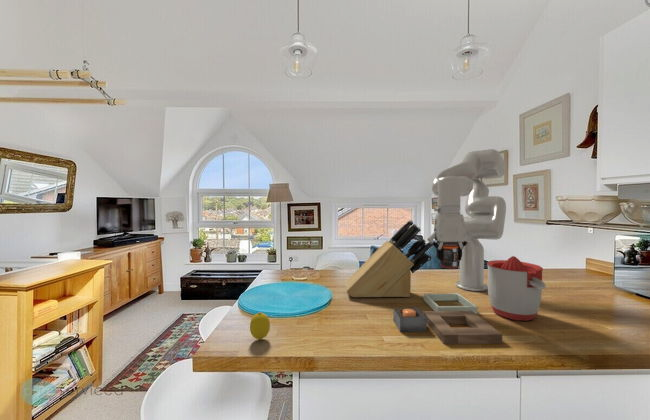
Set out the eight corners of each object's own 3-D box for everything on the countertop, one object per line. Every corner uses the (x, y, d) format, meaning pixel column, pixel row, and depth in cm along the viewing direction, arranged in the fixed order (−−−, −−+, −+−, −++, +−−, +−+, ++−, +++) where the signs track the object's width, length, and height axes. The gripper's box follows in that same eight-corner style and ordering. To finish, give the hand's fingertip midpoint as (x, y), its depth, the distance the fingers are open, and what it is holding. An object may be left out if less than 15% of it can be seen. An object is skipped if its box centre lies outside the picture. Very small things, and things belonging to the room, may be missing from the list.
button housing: (393, 320, 89) (393, 308, 89) (417, 319, 89) (417, 307, 89) (399, 331, 81) (399, 318, 81) (426, 331, 81) (426, 318, 81)
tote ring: (423, 299, 107) (423, 293, 107) (458, 299, 107) (458, 293, 107) (437, 314, 94) (437, 307, 93) (477, 314, 93) (477, 306, 93)
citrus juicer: (522, 330, 82) (523, 264, 81) (476, 308, 98) (476, 253, 98) (560, 323, 86) (561, 260, 85) (509, 303, 103) (510, 250, 102)
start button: (401, 321, 87) (401, 308, 87) (413, 321, 87) (413, 308, 87) (404, 326, 83) (404, 314, 83) (417, 326, 83) (417, 314, 83)
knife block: (434, 298, 109) (434, 221, 108) (346, 298, 110) (345, 222, 109) (424, 288, 120) (424, 219, 119) (344, 289, 121) (344, 220, 120)
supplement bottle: (460, 269, 97) (460, 238, 96) (442, 269, 98) (442, 238, 97) (455, 265, 103) (455, 235, 102) (439, 265, 104) (438, 235, 103)
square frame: (422, 318, 90) (422, 311, 90) (471, 318, 90) (471, 310, 90) (443, 343, 74) (443, 334, 74) (502, 343, 74) (502, 334, 74)
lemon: (252, 335, 80) (251, 309, 80) (271, 334, 81) (270, 308, 81) (248, 345, 75) (247, 317, 75) (268, 344, 75) (268, 316, 75)
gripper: (429, 211, 96) (429, 262, 96) (478, 210, 95) (478, 261, 96) (421, 210, 103) (422, 257, 104) (467, 209, 103) (467, 256, 104)
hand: (449, 259), depth 100 cm, fingers closed on supplement bottle, 6 cm apart
